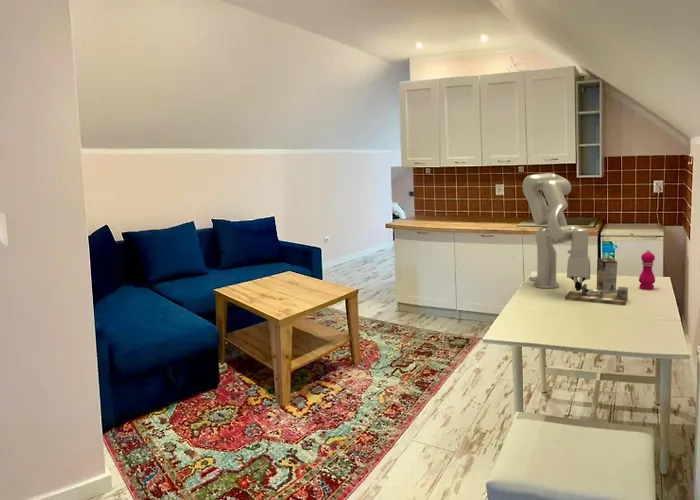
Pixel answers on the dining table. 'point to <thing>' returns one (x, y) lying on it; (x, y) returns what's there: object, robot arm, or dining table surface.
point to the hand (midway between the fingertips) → (578, 290)
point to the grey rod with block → (589, 290)
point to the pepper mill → (647, 271)
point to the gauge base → (607, 299)
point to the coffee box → (606, 275)
